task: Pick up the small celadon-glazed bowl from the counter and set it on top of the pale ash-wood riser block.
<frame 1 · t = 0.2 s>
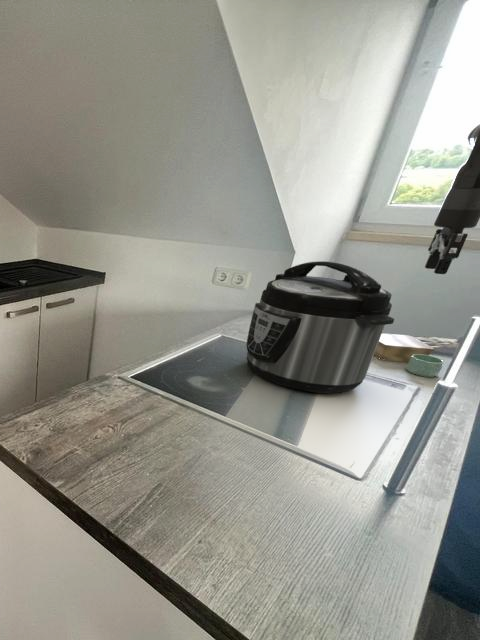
hand: (434, 271, 106), 28 cm above the counter, tool pointing down, fingers open, 8 cm apart
riser: (392, 354, 123), on the counter
bowl: (420, 372, 111), on the counter
pressure cooker: (295, 375, 111), on the counter
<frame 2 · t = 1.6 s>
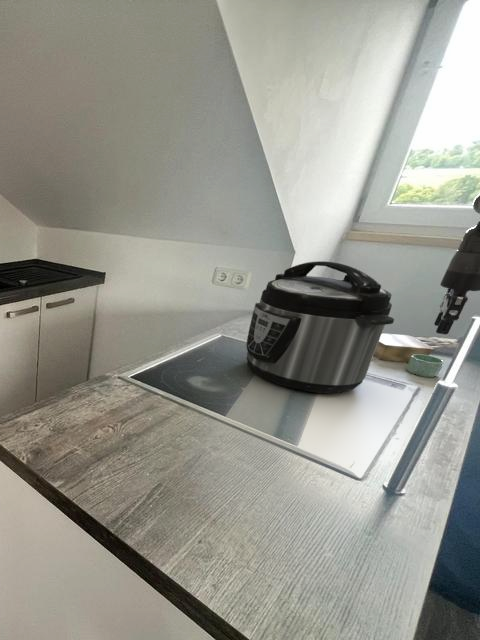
hand: (440, 329, 106), 13 cm above the counter, tool pointing down, fingers open, 8 cm apart
nothing on the counter moved.
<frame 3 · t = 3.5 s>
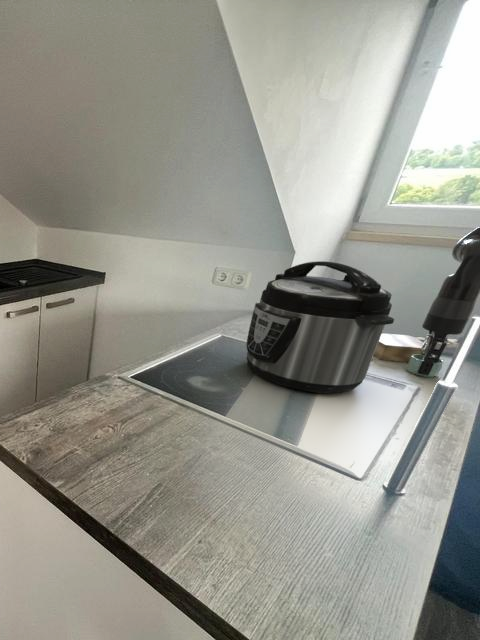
hand: (422, 369, 111), 1 cm above the counter, tool pointing down, fingers closed on bowl, 6 cm apart
bowl: (420, 372, 111), on the counter, touching gripper
everything else where it was.
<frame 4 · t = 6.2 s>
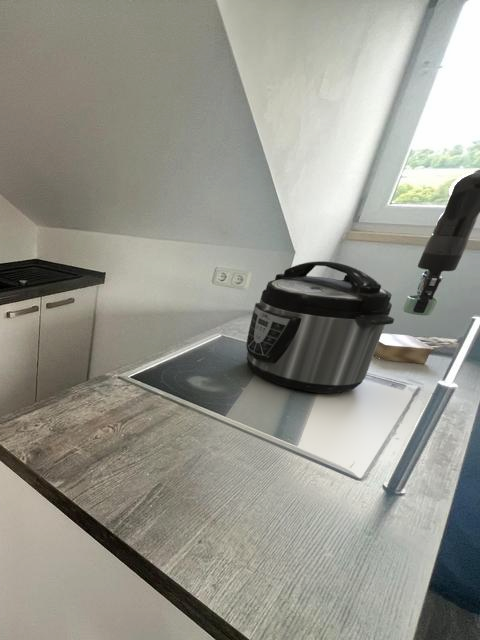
hand: (417, 309, 114), 16 cm above the counter, tool pointing down, fingers closed on bowl, 6 cm apart
bowl: (416, 312, 115), point 15 cm above the counter, touching gripper
everything else where it was.
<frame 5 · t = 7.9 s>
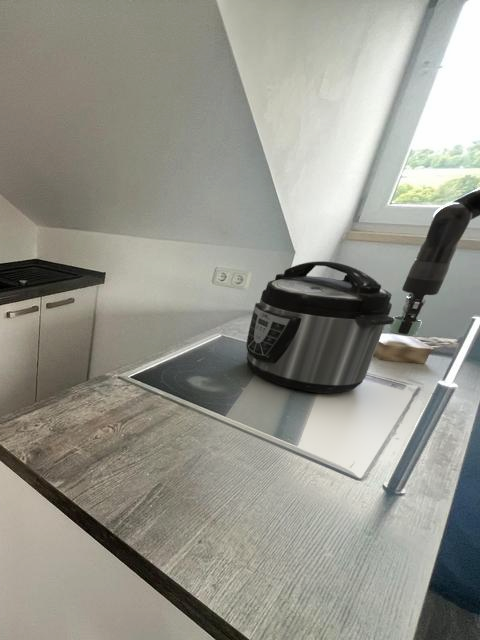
hand: (402, 330, 120), 8 cm above the counter, tool pointing down, fingers closed on bowl, 6 cm apart
bowl: (401, 333, 120), point 7 cm above the counter, touching gripper
everything else where it was.
when the fingers open (6 cm above the counter, at t = 9.2 s): bowl stays where it is, resting on riser.
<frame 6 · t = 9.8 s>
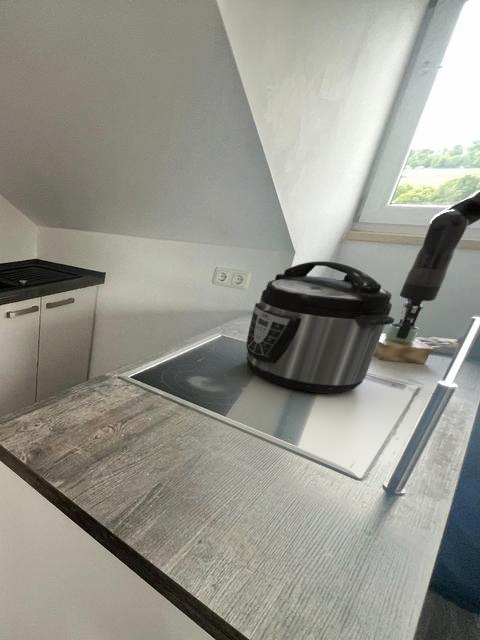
hand: (401, 334, 120), 7 cm above the counter, tool pointing down, fingers open, 8 cm apart
bowl: (398, 340, 121), point 5 cm above the counter, touching riser
everything else where it was.
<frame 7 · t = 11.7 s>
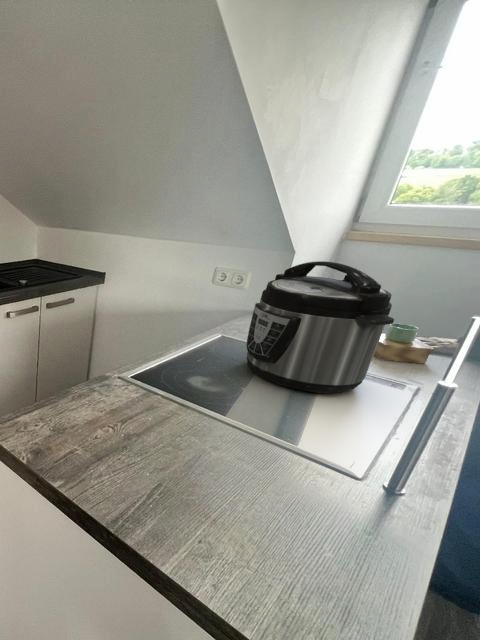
nothing on the counter moved.
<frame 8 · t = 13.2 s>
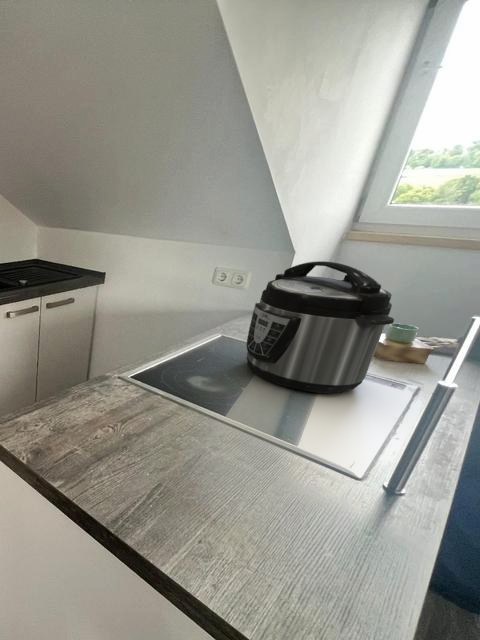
nothing on the counter moved.
at the end: bowl inside the target area on the riser (0.0 cm from its centre), point 5.0 cm above the riser's base; bowl tilted 0°; the gripper is holding nothing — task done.
